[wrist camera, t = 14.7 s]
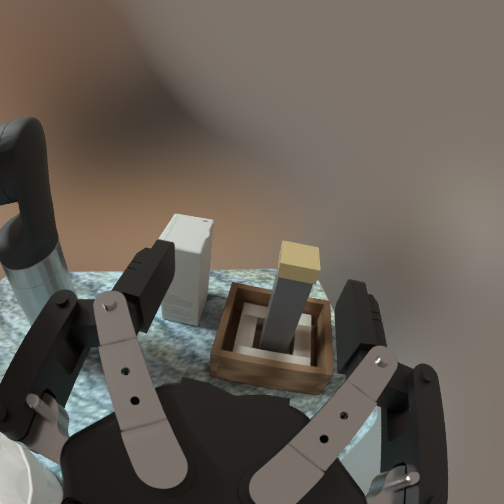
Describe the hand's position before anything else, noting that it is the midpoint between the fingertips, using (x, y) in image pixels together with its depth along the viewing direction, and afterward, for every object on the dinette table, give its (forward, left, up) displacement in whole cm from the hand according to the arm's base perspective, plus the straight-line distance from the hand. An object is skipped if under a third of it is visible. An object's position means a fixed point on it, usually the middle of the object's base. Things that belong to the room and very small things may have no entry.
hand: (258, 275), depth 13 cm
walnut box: (+4, +17, -29) cm, 33 cm away
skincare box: (-11, +22, -29) cm, 38 cm away
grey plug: (+4, +17, -28) cm, 33 cm away
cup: (-21, -17, -29) cm, 40 cm away
